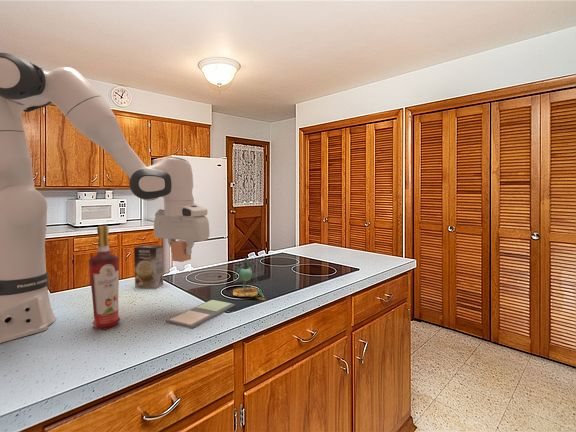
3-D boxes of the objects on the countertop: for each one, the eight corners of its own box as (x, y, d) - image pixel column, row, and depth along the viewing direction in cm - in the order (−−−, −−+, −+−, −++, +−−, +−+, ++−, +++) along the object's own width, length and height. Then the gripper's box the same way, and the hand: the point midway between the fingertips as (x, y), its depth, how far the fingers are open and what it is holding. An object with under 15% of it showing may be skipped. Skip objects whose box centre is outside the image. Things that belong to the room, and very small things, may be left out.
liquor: (117, 318, 97) (113, 224, 95) (124, 326, 92) (121, 226, 90) (89, 325, 92) (84, 226, 90) (94, 333, 87) (90, 228, 85)
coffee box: (134, 288, 128) (132, 247, 127) (142, 283, 135) (141, 244, 133) (156, 288, 127) (155, 247, 126) (164, 284, 134) (163, 245, 132)
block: (182, 261, 101) (181, 242, 101) (172, 260, 103) (171, 241, 103) (191, 259, 105) (190, 240, 105) (181, 258, 107) (180, 240, 106)
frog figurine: (247, 305, 109) (243, 260, 109) (225, 297, 124) (222, 257, 124) (271, 299, 115) (268, 257, 115) (248, 292, 129) (245, 254, 130)
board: (192, 328, 90) (192, 325, 90) (165, 322, 94) (165, 319, 94) (235, 306, 108) (235, 303, 108) (210, 301, 112) (210, 299, 112)
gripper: (147, 209, 104) (149, 252, 106) (197, 211, 95) (199, 258, 97) (163, 208, 110) (165, 249, 111) (211, 209, 101) (213, 254, 102)
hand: (181, 253), depth 104 cm, fingers closed on block, 4 cm apart
